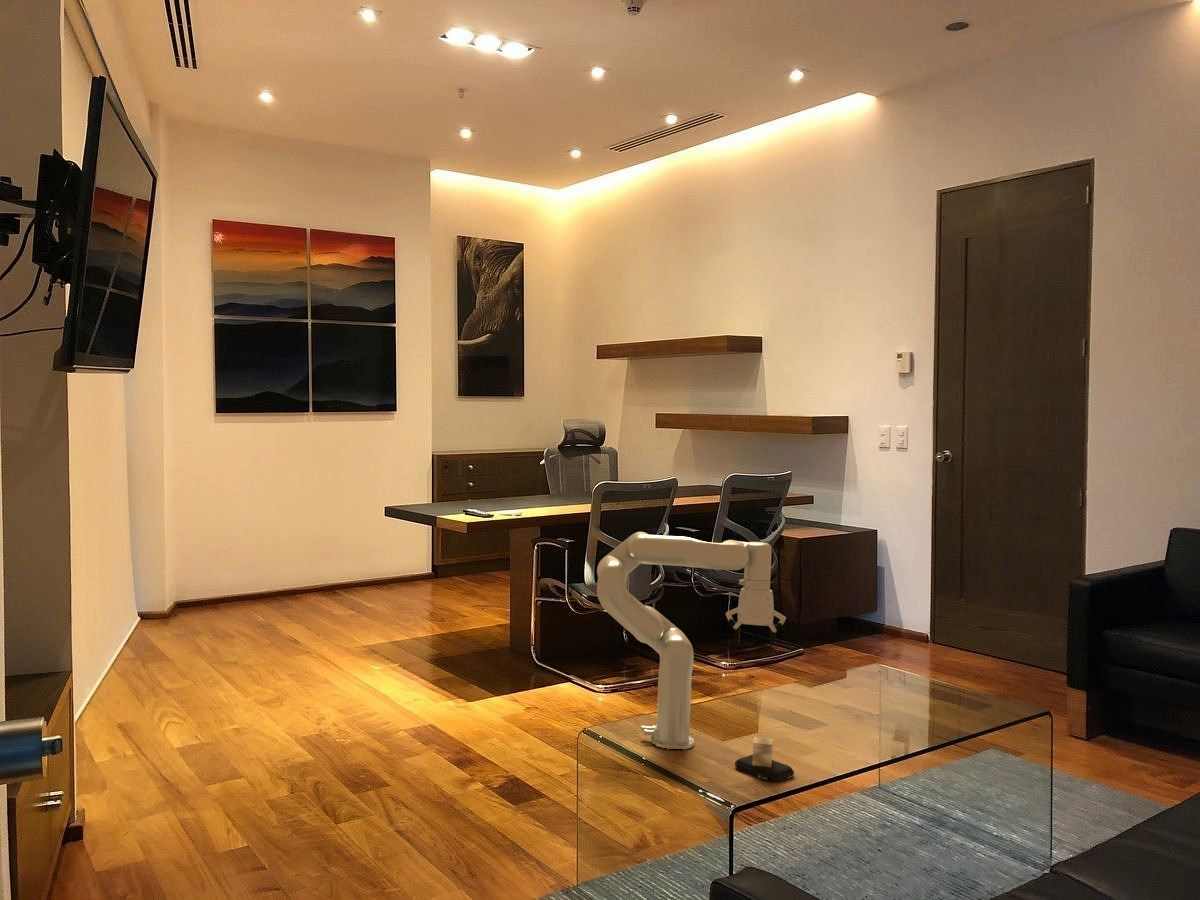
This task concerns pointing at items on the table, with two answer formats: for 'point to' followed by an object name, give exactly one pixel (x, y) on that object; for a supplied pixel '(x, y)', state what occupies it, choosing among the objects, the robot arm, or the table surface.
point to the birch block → (762, 752)
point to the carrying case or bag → (764, 769)
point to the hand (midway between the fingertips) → (754, 643)
